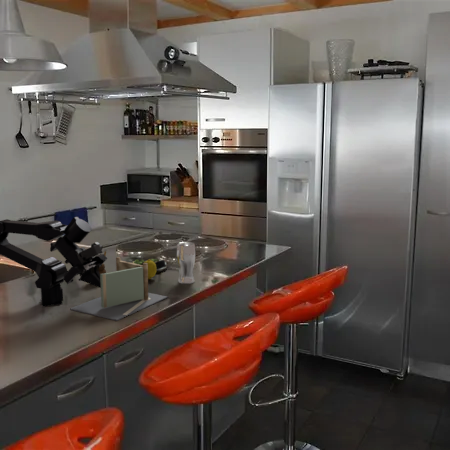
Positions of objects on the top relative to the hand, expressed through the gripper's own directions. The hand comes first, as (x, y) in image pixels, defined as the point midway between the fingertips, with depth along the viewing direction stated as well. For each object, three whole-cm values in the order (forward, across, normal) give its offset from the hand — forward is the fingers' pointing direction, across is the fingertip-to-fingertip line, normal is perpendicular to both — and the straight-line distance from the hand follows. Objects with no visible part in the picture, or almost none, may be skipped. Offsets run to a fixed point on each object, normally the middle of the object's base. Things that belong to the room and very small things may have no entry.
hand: (103, 287), depth 171 cm
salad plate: (0, +50, +11) cm, 51 cm away
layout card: (+7, +6, +3) cm, 10 cm away
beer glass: (+16, +36, -5) cm, 40 cm away
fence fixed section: (+7, +14, +3) cm, 16 cm away
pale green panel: (+8, +4, +1) cm, 9 cm away
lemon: (+5, +35, +5) cm, 36 cm away
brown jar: (-6, +25, +17) cm, 31 cm away
